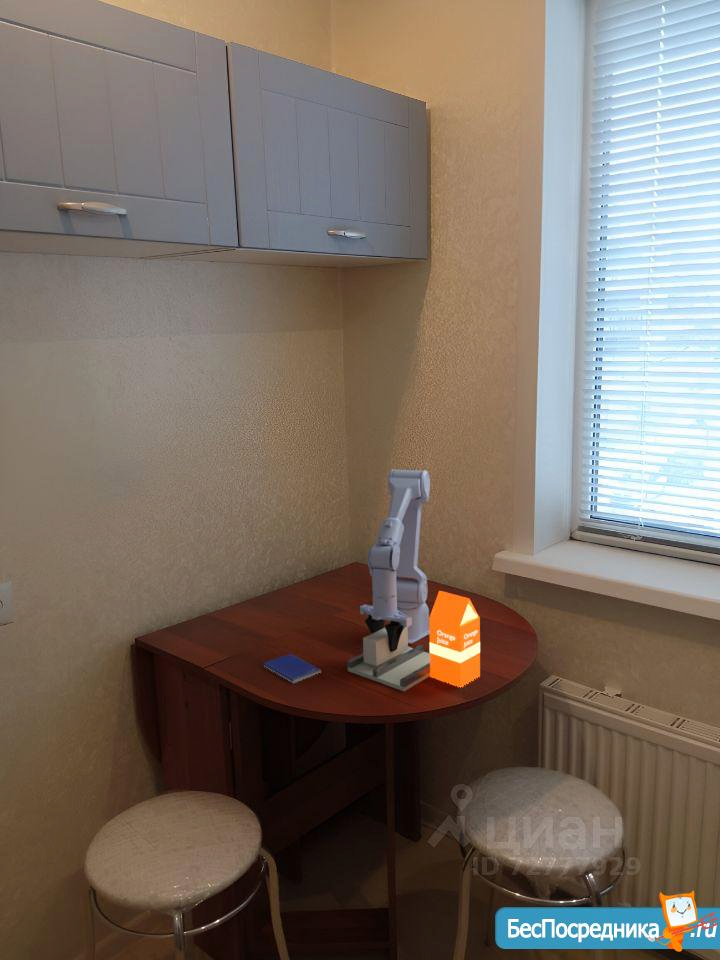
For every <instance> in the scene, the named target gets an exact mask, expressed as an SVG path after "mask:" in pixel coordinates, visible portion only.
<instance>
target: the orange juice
mask: <svg viewBox="0 0 720 960" xmlns="http://www.w3.org/2000/svg"><path fill="white" fill-rule="evenodd" d="M480 620H481V616H479V614H478V613H477V610H476V609H475V607H474V605H473V603H472V600H471V599H470V598H469V597H465V596H461V595H458V594H454V593H451V592H450V593H449V592H447V591H442V590H439V591H438V594H437V595H436V599H435V602H434V603H433V607H432V609H431V613H430V614H429V631H430V634H429V653H430V676H429V677H430V678H432V679H434V678H435V680H438V681H440V682H442V683H445V682H446V684H448V683H449V684H448V685H452V686H455V687H456V686H457V687H456V688H459V687H460V688H459V689H461V687H462V688H464V687H465V686H467V685H469V684H470V683H472V682H474V681H475V680H477V679H479V678H480V677H481V630H480V629H481V628H480V627H481V621H480ZM478 677H479V678H478ZM476 678H477V679H476ZM474 679H475V680H474ZM471 681H472V682H471ZM469 682H470V683H469ZM466 684H467V685H466ZM464 685H465V686H464Z"/></svg>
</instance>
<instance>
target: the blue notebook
mask: <svg viewBox="0 0 720 960" xmlns="http://www.w3.org/2000/svg"><path fill="white" fill-rule="evenodd" d="M265 667H266V668H265ZM263 668H265V669H267V668H268V669H269V670H268V669H267V670H268V671H270V670H271V671H270V672H272V671H273V672H272V673H274V672H275V673H277V674H278V675H277V674H276V675H277V676H279V675H280V676H279V677H281V676H282V677H283V678H282V677H281V678H282V679H284V678H285V679H284V680H286V679H287V680H288V682H289V681H290V682H289V683H291V682H292V684H296V683H299V682H301V681H303V679H304V680H306V678H307V679H309V678H312V677H314V676H316V675H315V674H317V675H319V674H318V673H320V674H321V673H322V669H320V668H318V667H316V666H315V665H312V664H310V663H309V662H307V661H305V660H303V659H301V658H300V657H298V656H296V655H293V654H291V653H290V654H286V655H283V656H280V657H278V658H274V659H272V660H269V661H267V662H266V661H265V662H264V663H263ZM275 673H274V674H275ZM313 675H314V676H313ZM311 676H312V677H311ZM308 677H309V678H308ZM287 680H286V681H287ZM298 681H299V682H298Z"/></svg>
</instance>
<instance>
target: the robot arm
mask: <svg viewBox="0 0 720 960" xmlns="http://www.w3.org/2000/svg"><path fill="white" fill-rule="evenodd" d="M387 488H388V490H389V494H390V496H391V498H390V503H389V509H388V514H387V518H385V519H383V520H382V521H381V523H380V527H379V530H378V533H377V536H376V540H375V543H374V545H373V546H370V548H369V549H368V553H367V565H368V566H367V567H368V568H369V575H370V577H371V578H372V579H371V583H372V585H371V586H372V605H370V604H369V605H368V604H363V605H360V606H359V614H360V615H363V616H364V615H367V616H368V617H367V618H366V619H365V620H364V623H365V624H366V626H367V628H368V629H369V631H370V635H371V634H373V633H375V632H377V631H379V630H381V629H383V628H385V629H386V631H387V635H388V640H389V649H390V652H393V651H395V650H397V647H398V643H399V639H400V636H401V633H402V631H403V629H404V627H408V645H409V644H410V645H412V644H414V643H416V642H418V641H420V640H421V639H423V638H426V637H427V636H430V629H429V617H430V609H429V607H428V605H427V603H426V601H427V599H428V592H429V591H428V577H427V575H426V574H425V573H424V572H423V571H422V570H421V569H420V568H419V567H418V560H419V545H420V534H421V533H420V532H421V518H422V509H423V505H425V504H427V503H428V502H429V499H430V493H431V492H430V491H431V490H430V488H431V478H430V474H429V472H428V470H426V469H424V470H419V469H418V470H414V469H413V470H412V469H396V468H392V469H391V470H390V472H389V474H388V477H387ZM404 578H408V579H404ZM385 621H388V622H390V623H387V624H385Z"/></svg>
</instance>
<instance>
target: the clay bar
mask: <svg viewBox="0 0 720 960" xmlns="http://www.w3.org/2000/svg"><path fill="white" fill-rule="evenodd" d="M362 645H363V646H362V647H363V648H362V649H363V651H362V653H363V654H364V662H366V663H368V664H371V665H374V666H378V665H380V664H382V663H384V662H386V661H388V660H389V659H391V658H393V657H395V656H397V655H399V654H401V653H403V652H404V651H406V650H408V647H409V644H408V627H404V629H403V631H402V633H401V636H400V639H399V643H398V647H397V650H395V651H393V652H390V649H389V640H388V635H387V631H386V629H385V627H384V628H383V629H381V630H379V631H377V632H375V633H373V634H371V633H370V634H369V635H367V636H364V637H362Z"/></svg>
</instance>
